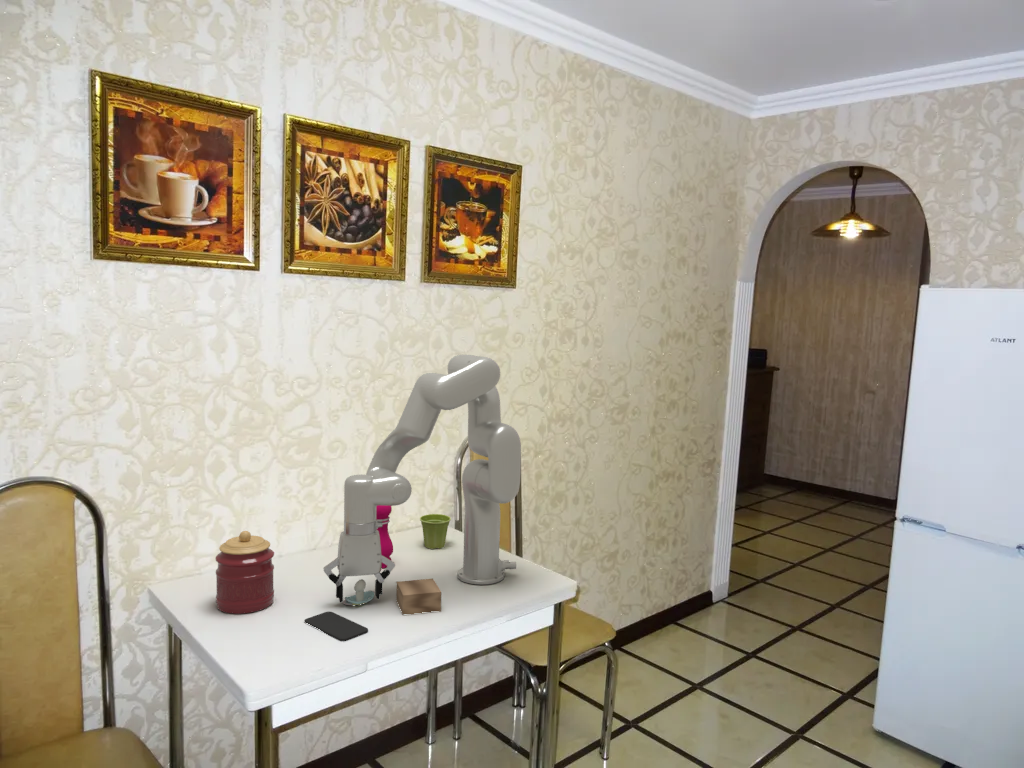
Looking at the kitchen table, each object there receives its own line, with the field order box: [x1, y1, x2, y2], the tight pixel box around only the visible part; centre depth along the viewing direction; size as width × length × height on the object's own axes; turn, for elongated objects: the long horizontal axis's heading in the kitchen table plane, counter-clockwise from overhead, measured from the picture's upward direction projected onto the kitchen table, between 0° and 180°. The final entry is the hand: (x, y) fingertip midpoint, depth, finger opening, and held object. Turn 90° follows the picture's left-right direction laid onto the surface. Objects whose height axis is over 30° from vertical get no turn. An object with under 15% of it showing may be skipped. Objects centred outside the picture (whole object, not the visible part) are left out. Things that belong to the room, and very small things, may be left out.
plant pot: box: [419, 513, 452, 550], centre depth 217 cm, size 9×9×9 cm
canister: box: [215, 530, 275, 615], centre depth 170 cm, size 13×13×18 cm
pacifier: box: [342, 579, 375, 606], centre depth 173 cm, size 7×6×6 cm
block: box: [395, 578, 442, 615], centre depth 172 cm, size 9×9×5 cm
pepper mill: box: [376, 505, 394, 569], centre depth 199 cm, size 7×7×20 cm
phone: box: [304, 611, 369, 642], centre depth 160 cm, size 7×1×15 cm
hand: (359, 598), depth 173 cm, fingers open, 8 cm apart
